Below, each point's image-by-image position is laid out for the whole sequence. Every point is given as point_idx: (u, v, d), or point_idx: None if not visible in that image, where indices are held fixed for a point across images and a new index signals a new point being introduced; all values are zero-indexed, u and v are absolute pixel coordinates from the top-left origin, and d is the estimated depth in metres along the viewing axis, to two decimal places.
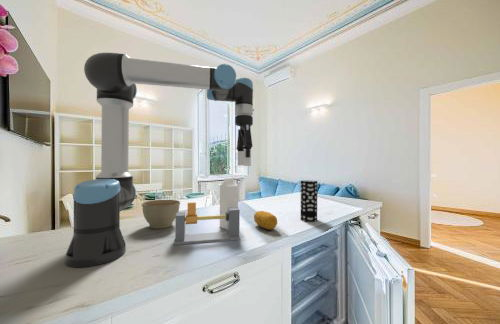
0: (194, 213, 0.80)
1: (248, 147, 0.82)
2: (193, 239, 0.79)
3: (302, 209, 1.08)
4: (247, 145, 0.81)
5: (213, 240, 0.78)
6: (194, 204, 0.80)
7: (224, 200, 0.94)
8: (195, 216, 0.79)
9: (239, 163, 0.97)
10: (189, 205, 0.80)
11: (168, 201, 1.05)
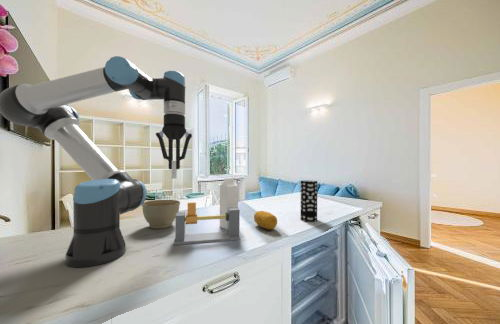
0: (194, 213, 0.80)
1: None
2: (193, 239, 0.79)
3: (302, 209, 1.08)
4: None
5: (213, 240, 0.78)
6: (194, 204, 0.80)
7: (224, 200, 0.94)
8: (195, 216, 0.79)
9: None
10: (189, 205, 0.80)
11: (168, 201, 1.05)
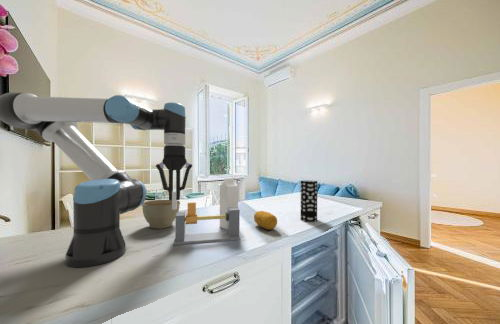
0: (194, 213, 0.80)
1: None
2: (193, 239, 0.79)
3: (302, 209, 1.08)
4: None
5: (213, 240, 0.78)
6: (194, 204, 0.80)
7: (224, 200, 0.94)
8: (195, 216, 0.79)
9: None
10: (189, 205, 0.80)
11: (168, 201, 1.05)
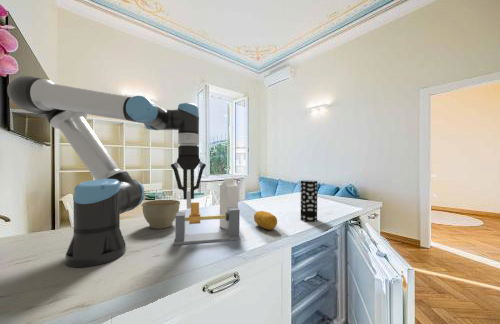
0: (197, 213, 0.80)
1: None
2: (193, 239, 0.79)
3: (302, 209, 1.08)
4: None
5: (213, 240, 0.78)
6: (197, 204, 0.80)
7: (224, 200, 0.94)
8: (198, 216, 0.79)
9: None
10: (192, 205, 0.80)
11: (168, 201, 1.05)
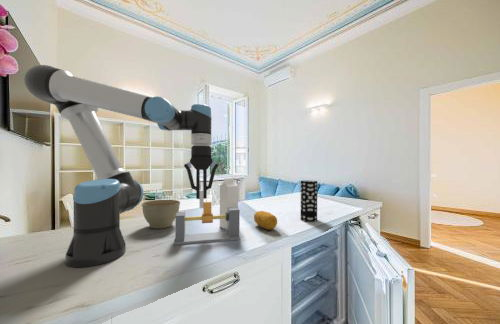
0: (210, 212, 0.82)
1: None
2: (193, 239, 0.79)
3: (302, 209, 1.08)
4: None
5: (213, 240, 0.78)
6: (210, 203, 0.82)
7: (224, 200, 0.94)
8: (211, 215, 0.81)
9: None
10: (205, 204, 0.81)
11: (168, 201, 1.05)
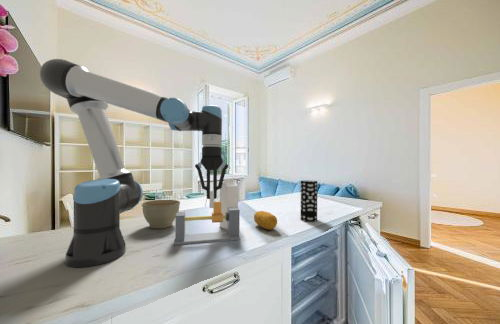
0: (220, 212, 0.82)
1: None
2: (193, 239, 0.79)
3: (302, 209, 1.08)
4: None
5: (213, 240, 0.78)
6: (220, 203, 0.82)
7: (224, 200, 0.94)
8: (221, 215, 0.81)
9: None
10: (215, 204, 0.82)
11: (168, 201, 1.05)
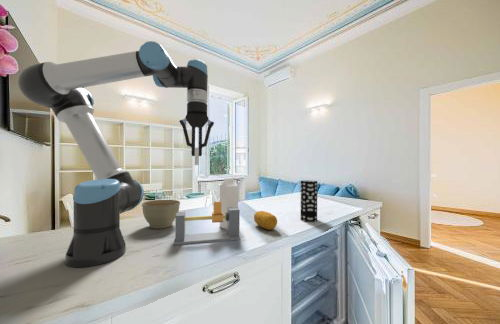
0: (220, 212, 0.82)
1: None
2: (193, 239, 0.79)
3: (302, 209, 1.08)
4: (187, 144, 0.81)
5: (213, 240, 0.78)
6: (220, 203, 0.82)
7: (224, 200, 0.94)
8: (221, 215, 0.81)
9: None
10: (215, 204, 0.82)
11: (168, 201, 1.05)
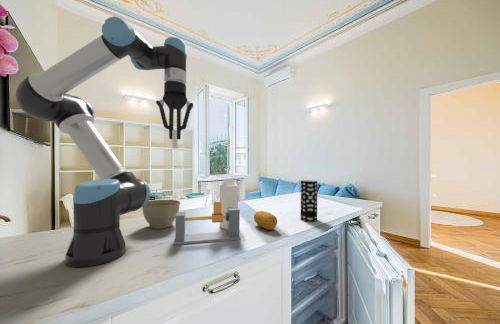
0: (220, 212, 0.82)
1: None
2: (193, 239, 0.79)
3: (302, 209, 1.08)
4: None
5: (213, 240, 0.78)
6: (220, 203, 0.82)
7: (224, 200, 0.94)
8: (221, 215, 0.81)
9: None
10: (215, 204, 0.82)
11: (168, 201, 1.05)
